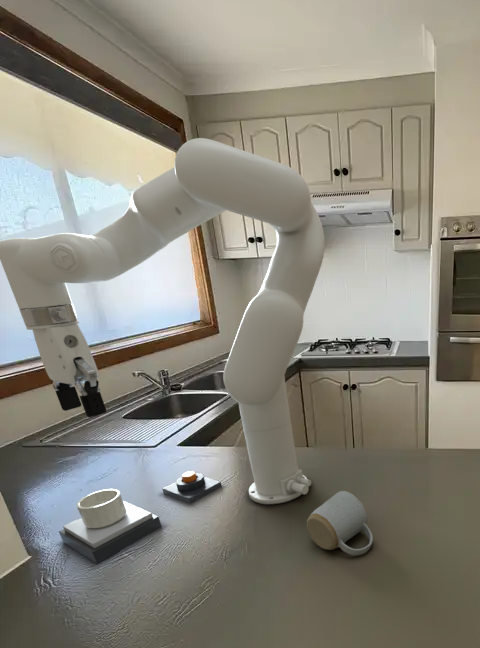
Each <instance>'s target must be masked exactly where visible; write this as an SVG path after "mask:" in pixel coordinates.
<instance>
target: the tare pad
mask: <svg viewBox="0 0 480 648" xmlns="http://www.w3.org/2000/svg"><path fill="white" fill-rule="evenodd" d="M195 474H196V477H197V479H196V480H194V481H191V482H186V483H184V482H183V479H182V475H181V476H180V477H178V478H177V479H176V480H175V481H174V482H172V483H170V484H168V485H166V486H164V487H162V492H163V494H164V495H166V496H169V497H171V498H175V499H177V500H179V501H182V502H183V503H184V502H185V503H187V504H189V505H192V504H193V503H195V502H198V501H199V500H200V499H202V498H204V497H206V496H208V495H209V494H212V493H213V492H215V491H217V490H219V489H221V488H222V483H221V481H220V480H217V479H214V478H211V477H207V476H204V474H203V473H202V472H195Z"/></svg>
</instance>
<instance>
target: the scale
mask: <svg viewBox="0 0 480 648" xmlns="http://www.w3.org/2000/svg"><path fill="white" fill-rule="evenodd" d="M123 502H124V505H125V508H126V514H125V515H124V516H123V517H122V518H121V519H120V520H119V521H118V522H116V523H114V524H112V525H110V526H107V527H103V528H88V527H86V526H85V525H84V523H83V520H82V518H81V517H78V518H77V519H75V520H73V521H70V522H67V524H64V525H62V528H63V529H61V530H59V531H58V534H59V535H60V538H61V540H62V542H63V544H65V545H66V546H68V547H70V548H72V549H73V550H74V551H76V552H78V553H79V554H81V555H83V556H84V557H85V558H87V559H89V560H90V561H92V562H93V563H94V564H96V565H97V564H100V563H102V562H103V561H105V560H107V559H108V558H110V557H112V556H114V555H116V554H117V553H119V552H121V551H123V550H124V549H126V548H128V547H129V546H132V545H133V544H135V543H137V542H139V541H140V540H142V539H144V538H146V537H147V536H149V535H151V534H153V533H154V532H156V531H158V530H159V529H161V528H162V523H161V520H160V516H158V515H156V514H153V513H152V512H150V511H148V510H146V509H143V508H142V507H139V506H137V505H135V504H132V503H131V502H128V501H125V500H123Z"/></svg>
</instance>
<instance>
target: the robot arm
mask: <svg viewBox="0 0 480 648" xmlns="http://www.w3.org/2000/svg"><path fill="white" fill-rule="evenodd" d="M226 211H227V212H231V213H234V214H236V215H237V214H238V215H240V216H242V217H245V218H246V217H247V218H250V219H254V220H257V221H260V222H263V223H266V224H269V225H270V226H271V227H272V228H273V229H274V231H275V234H276V245H275V249H274V252H273V254H272V256H271V260H270V262H269V266H268V269H267V272H266V274H265V277H264V279H263V281H262V285H261V286H260V289H259V291H258V293H257V294H256V295H255V296H254V297H253V298H252V299H251V300H250V302H249V303H248V305H247V307H246V309H245V311H244V314H243V316H242V319H241V321H240V325H239V327H238V330H237V333H236V336H235V339H234V341H233V344H232V346H231V349H230V352H229V355H228V357H227V361H226V363H225V366H224V369H223V373H222V374H223V375H222V378H223V380H222V381H223V385H224V387H225V390H226V392H227V393H228V395H229V396H230V398H232V400H234V401H236V403H238V408H239V409H238V410H239V414H240V420H241V425H242V429H243V434H244V439H245V444H246V449H247V454H248V458H249V463H250V468H251V472H252V477H253V481H254V482H252V484H251V485H250V486H249V488H248V495H249V498H250V499H251V500H252V501H253V502H256V503H258V504H260V505H261V504H262V505H279V504H283V503H288V502H290V501H292V500H294V499H296V498H298V497H300V496H301V495H307V494H308V492H309V487H311V486H312V480H311V479H309V478H307V476H306V475H304V474H303V469H300V468H299V463H298V458H297V451H296V445H295V440H294V438H295V437H294V431H293V426H292V420H291V418H292V417H291V414H290V413H291V412H290V406H289V400H288V393H287V385H286V378H285V377H286V376H285V374H286V372H287V370H288V368H289V365H290V362H291V361H292V358H293V354H294V352H295V349H296V347H297V346H298V342H299V340H300V337H301V336H302V335H301V334H302V332H303V328H304V315H305V312H306V309H307V305H308V303H309V300H310V298H311V296H312V293H313V290H314V287H315V285H316V281H317V279H318V277H319V273H320V270H321V267H322V264H323V260H324V255H325V246H326V245H325V244H326V243H325V242H326V241H325V233H324V228H323V223H322V220H321V218H320V215H319V214H318V212H317V210H316V208H315V206H314V205H313V203H312V197H311V193H310V189H309V186H308V183H307V181H306V180H305V179H304V177H303V176H302V175H301V174H300V173H299V172H298V171H297V170H295V169H294V168H292V167H291V166H288V165H287V164H285V163H281V162H278V161H276V160H273V159H270V158H267V157H264V156H261V155H258V154H255V153H252V152H249V151H246V150H242V149H241V148H237V147H235V146H232V145H228V144H226V143H223V142H221V141H217V140H214V139H211V138H205V137H198V138H192V139H189V140H187V141H186V142H185V143H183V144H181V146H180V147H179V148H178V150H177V152H176V154H175V158H174V167H172V168H170V169H169V170H167V171H165V172H164V173H162V174H160V175H158V176H156V177H155V178H153V179H151V180H149V181H148V182H146V183H144V184H143V185H140V186H139V187H137V188H136V189H134V190H133V192H132V193H131V195H130V199H129V204H128V208H127V210H126V211H125V212H124V214H123V215H122V216H121V217H119V218H118V219H116V220H115V221H114V222H112V223H110V224H109V225H107V226H105V227H104V228H102V229H100V230H99V231H96V232H95V233H92V234H91V235H90V234H89V235H87V234H80V233H72V232H60V233H54V234H50V235H45V236H40V237H16V238H15V237H14V238H7V239H6V238H5V239H2V240H0V263H1V266H2V269H3V271H4V273H5V276H6V279H7V281H8V284H9V286H10V289H11V291H12V294H13V297H14V299H15V302H16V304H17V307H18V309H19V312H20V315H21V318H22V320H23V323H24V326H25V328H26V330H29V331H32V333H33V337H34V341H35V345H36V347H37V350H38V353H39V357H40V359H41V362H42V364H43V367H44V370H45V372H46V374H47V376H48V378H49V380H50V381H51V382H52V388H53V389H54V391H55V394H56V397H57V399H58V402H59V405H60V407H61V410H62V411H65V412H67V411H70V410H74V409H77V408H80V407H83V410H84V412H85V415H86V417H87V418H92V417H96V416H99V415H102V414H105V413H107V408H106V405H105V403H104V399H103V396H102V394H101V393H102V392H101V388H100V386H99V384H100V381H99V380H98V378H99V377H100V373H99V369H98V367H97V364H96V361H95V359H94V357H93V354H92V352H91V349H90V346H89V344H88V342H87V340H86V337H85V335H84V333H83V331H82V330H81V329H82V328H80V326H79V324H80V322H79V318H78V316H77V313H76V309H75V306H74V304H73V301H72V298H71V295H70V291H69V288H68V286H67V284H90V283H99V282H101V283H102V282H109V281H111V280H113V279H115V278H117V277H119V276H121V275H123V274H125V273H127V272H128V271H129V270H132V269H134V268H135V267H137V266H139V265H140V264H143V263H144V262H145V261H147V260H149V259H150V258H151V257H153V256H155V254H157V253H158V252H160V251H161V250H163V249H165V248H166V247H167V246H168V245H169V244H171V243H172V242H173V241H175V240H176V239H179V238H180V237H182V236H184V235H186V234H188V233H189V232H190V231H193V230H194V229H196V228H198V227H199V226H202V225H203V224H205V223H207V222H208V221H211V220H212V219H214V218H215V217H217V216H219V215H220V214H223V213H224V212H226ZM83 384H84V385H83ZM73 385H74V386H73ZM77 390H78V391H77ZM78 392H79V393H80V394H81V395H79V394H78Z"/></svg>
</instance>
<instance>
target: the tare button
mask: <svg viewBox="0 0 480 648" xmlns="http://www.w3.org/2000/svg"><path fill="white" fill-rule="evenodd" d="M195 473H196V471H194V470H189V471H185V472H183V473H182V474H181V476H182V479H183V482H184V483H186V482H191V481H194V480H196V479H197V477H196V474H195Z"/></svg>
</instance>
